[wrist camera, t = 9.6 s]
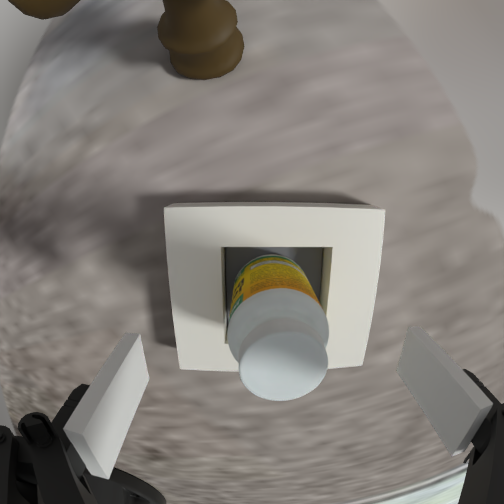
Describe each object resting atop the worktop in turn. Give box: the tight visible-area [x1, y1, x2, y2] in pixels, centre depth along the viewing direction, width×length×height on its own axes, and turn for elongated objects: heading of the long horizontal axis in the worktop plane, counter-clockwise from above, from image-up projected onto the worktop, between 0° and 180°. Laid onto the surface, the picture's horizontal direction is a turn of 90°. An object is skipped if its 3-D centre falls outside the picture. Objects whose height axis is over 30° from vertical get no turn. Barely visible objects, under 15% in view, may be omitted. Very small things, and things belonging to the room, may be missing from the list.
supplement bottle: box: [227, 254, 329, 401], centre depth 17 cm, size 5×5×10 cm
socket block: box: [164, 202, 385, 371], centre depth 21 cm, size 14×12×2 cm
